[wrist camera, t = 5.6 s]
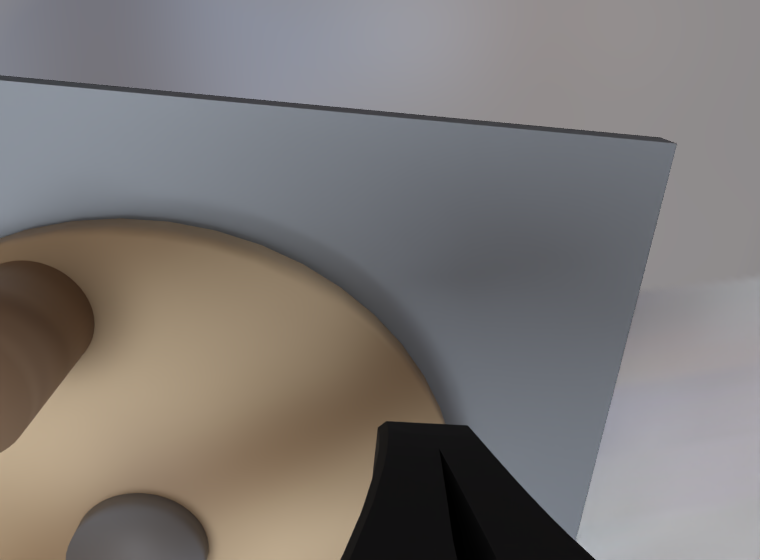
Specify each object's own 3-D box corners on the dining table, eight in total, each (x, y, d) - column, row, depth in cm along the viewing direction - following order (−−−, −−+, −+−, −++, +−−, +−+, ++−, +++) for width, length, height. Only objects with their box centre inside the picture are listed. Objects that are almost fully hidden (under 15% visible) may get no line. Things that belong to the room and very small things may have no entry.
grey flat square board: (510, 744, 22) (518, 779, 21) (-201, 738, 20) (-230, 777, 19) (659, 137, 15) (684, 146, 14) (-418, 36, 13) (-482, 36, 12)
